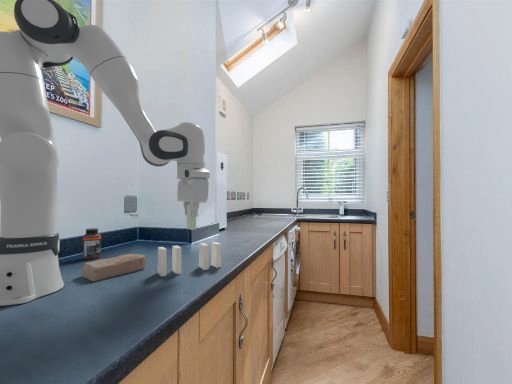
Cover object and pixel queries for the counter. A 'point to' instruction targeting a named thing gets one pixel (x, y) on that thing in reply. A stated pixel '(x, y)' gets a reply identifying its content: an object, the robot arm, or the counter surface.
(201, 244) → the domino
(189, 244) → the counter surface
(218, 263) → the domino
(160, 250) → the domino
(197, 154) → the robot arm
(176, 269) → the domino
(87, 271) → the brick
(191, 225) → the pale green domino
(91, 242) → the supplement bottle
